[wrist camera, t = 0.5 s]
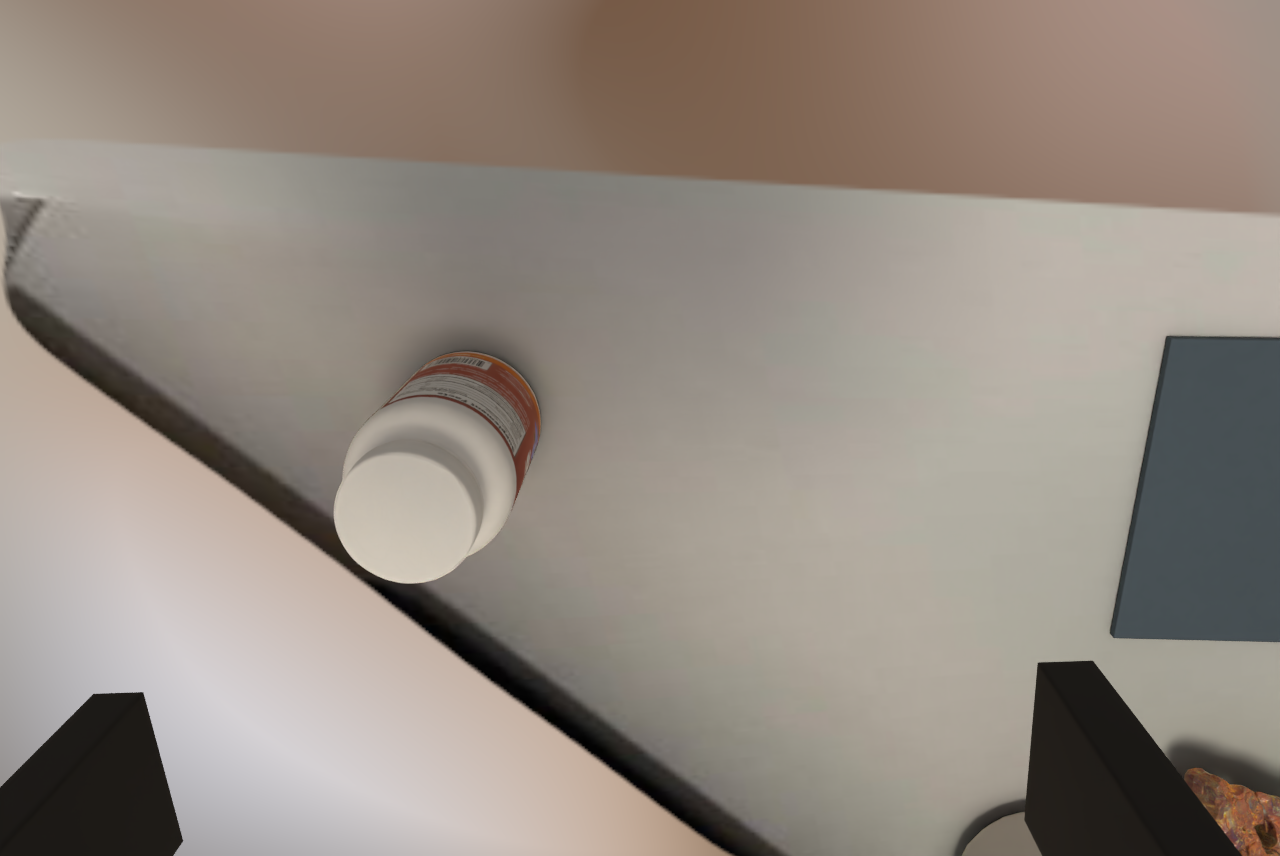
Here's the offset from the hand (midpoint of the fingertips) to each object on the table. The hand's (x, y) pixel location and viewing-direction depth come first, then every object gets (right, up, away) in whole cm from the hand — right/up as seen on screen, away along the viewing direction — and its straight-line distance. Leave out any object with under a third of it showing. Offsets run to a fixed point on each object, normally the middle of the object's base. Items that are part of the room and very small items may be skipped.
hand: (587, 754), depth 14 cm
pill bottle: (-7, +5, +27) cm, 28 cm away
